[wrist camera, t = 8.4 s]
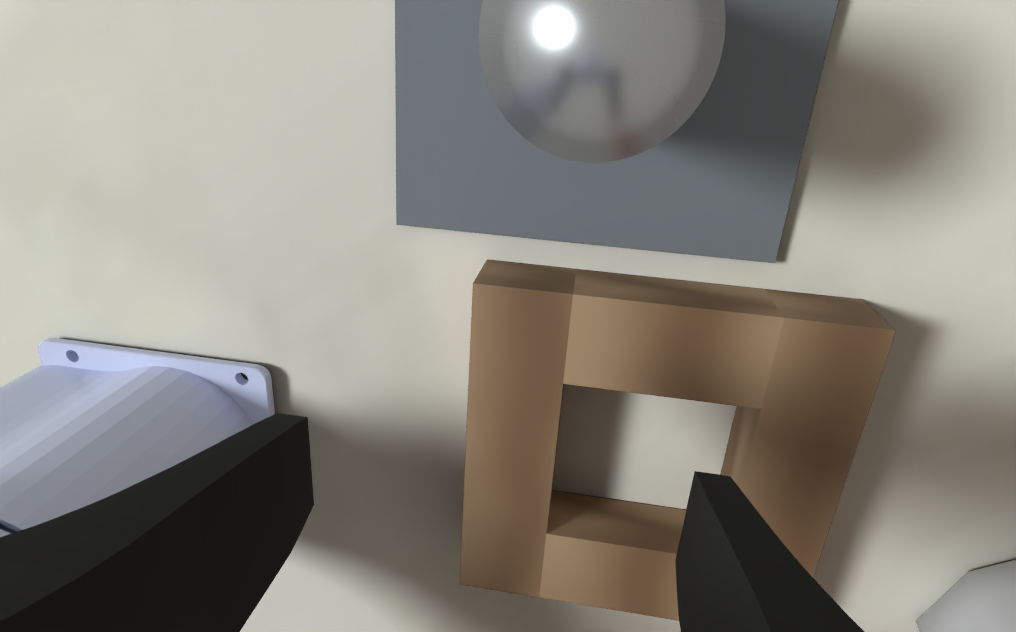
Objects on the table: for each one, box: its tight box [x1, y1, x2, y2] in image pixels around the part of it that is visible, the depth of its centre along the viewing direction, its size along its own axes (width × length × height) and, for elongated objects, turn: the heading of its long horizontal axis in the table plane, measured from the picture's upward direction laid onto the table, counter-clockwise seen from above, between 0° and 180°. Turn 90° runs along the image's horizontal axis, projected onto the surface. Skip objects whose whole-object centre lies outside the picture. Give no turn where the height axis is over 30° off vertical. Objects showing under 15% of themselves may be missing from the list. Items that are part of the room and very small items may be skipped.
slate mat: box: [395, 0, 839, 263], centre depth 18 cm, size 12×12×1 cm
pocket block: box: [460, 260, 896, 621], centre depth 21 cm, size 12×12×2 cm
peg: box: [479, 0, 726, 163], centre depth 14 cm, size 4×4×8 cm
